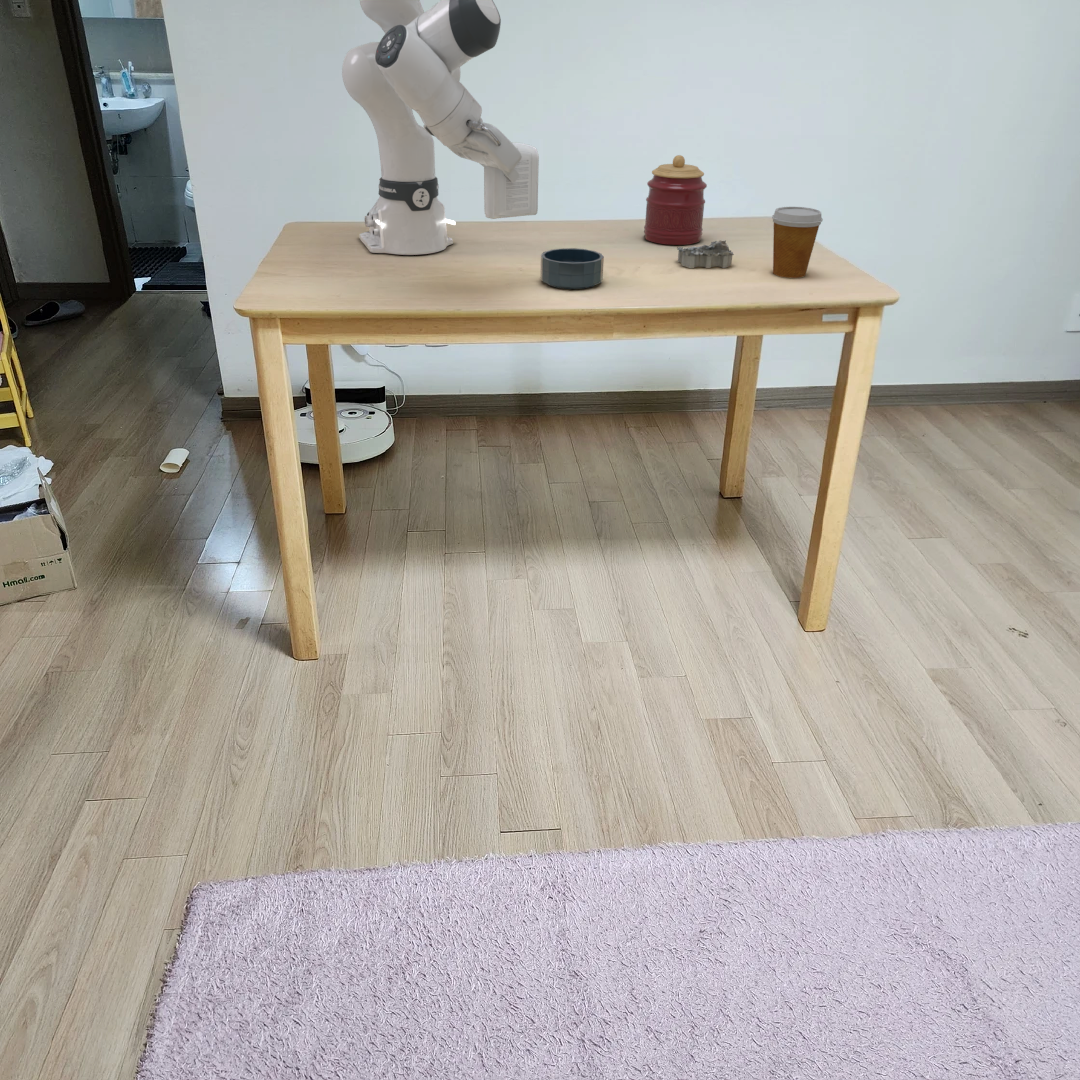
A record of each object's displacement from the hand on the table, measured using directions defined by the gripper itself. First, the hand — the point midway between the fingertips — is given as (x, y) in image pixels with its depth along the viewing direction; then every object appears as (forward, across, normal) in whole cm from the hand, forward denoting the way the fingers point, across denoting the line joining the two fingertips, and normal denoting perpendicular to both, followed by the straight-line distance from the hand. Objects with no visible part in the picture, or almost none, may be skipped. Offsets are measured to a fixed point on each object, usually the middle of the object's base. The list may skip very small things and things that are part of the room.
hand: (507, 176), depth 166 cm
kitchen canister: (+50, +16, -22) cm, 57 cm away
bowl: (+22, -4, +5) cm, 23 cm away
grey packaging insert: (+44, -5, -17) cm, 48 cm away
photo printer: (+6, 0, +4) cm, 7 cm away
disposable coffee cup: (+51, -19, -24) cm, 60 cm away
